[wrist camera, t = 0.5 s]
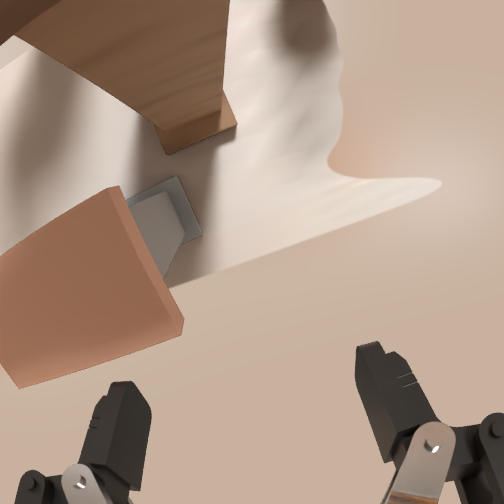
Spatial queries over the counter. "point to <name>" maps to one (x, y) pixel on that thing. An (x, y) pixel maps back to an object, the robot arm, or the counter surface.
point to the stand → (139, 56)
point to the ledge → (93, 283)
